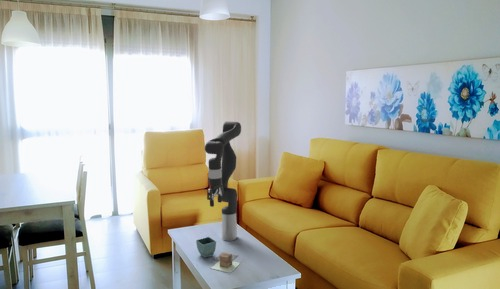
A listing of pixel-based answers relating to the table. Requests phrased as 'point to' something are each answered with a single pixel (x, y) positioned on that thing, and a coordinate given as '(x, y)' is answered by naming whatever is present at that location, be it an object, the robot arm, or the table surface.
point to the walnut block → (225, 260)
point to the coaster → (229, 270)
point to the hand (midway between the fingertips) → (215, 204)
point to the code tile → (222, 253)
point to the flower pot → (206, 246)
